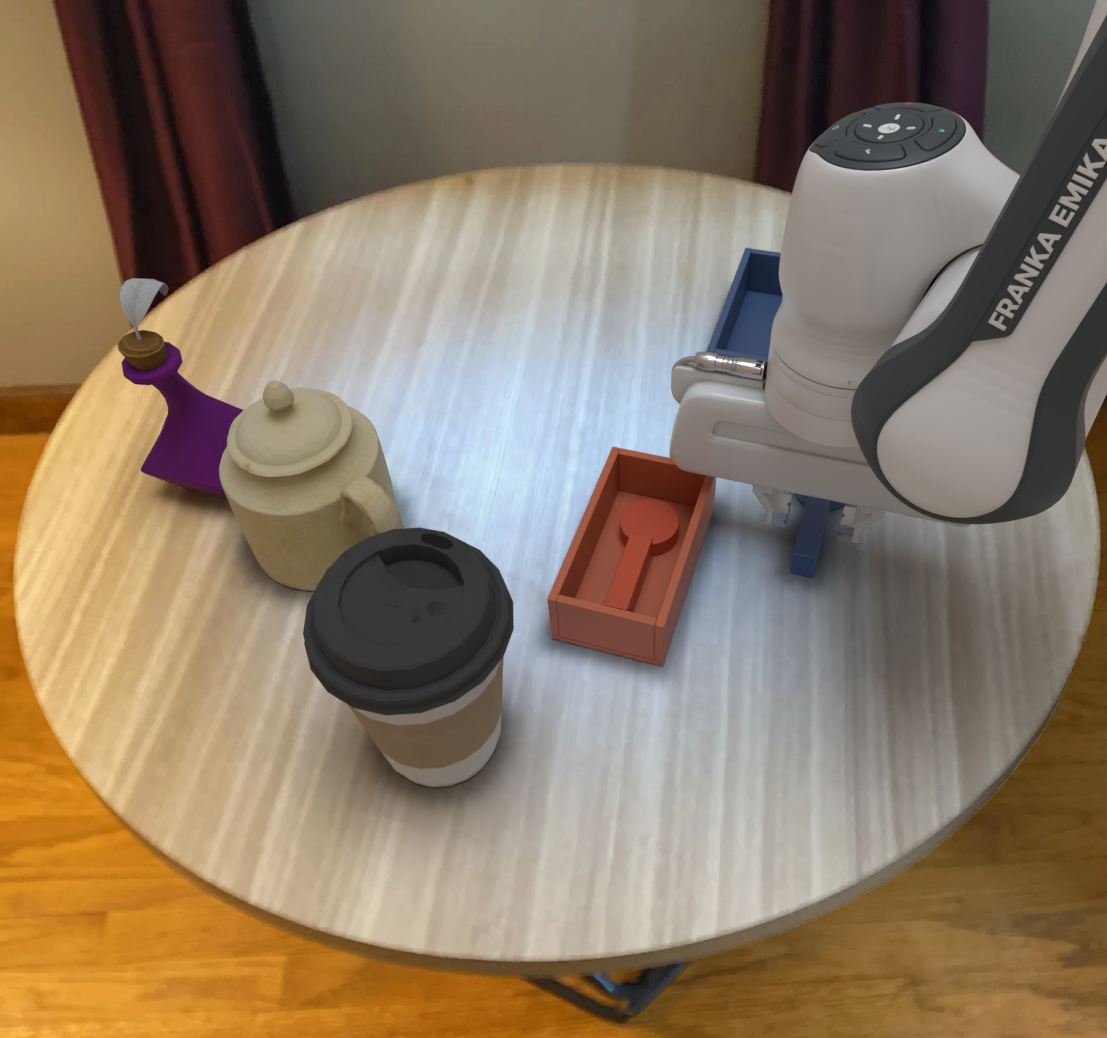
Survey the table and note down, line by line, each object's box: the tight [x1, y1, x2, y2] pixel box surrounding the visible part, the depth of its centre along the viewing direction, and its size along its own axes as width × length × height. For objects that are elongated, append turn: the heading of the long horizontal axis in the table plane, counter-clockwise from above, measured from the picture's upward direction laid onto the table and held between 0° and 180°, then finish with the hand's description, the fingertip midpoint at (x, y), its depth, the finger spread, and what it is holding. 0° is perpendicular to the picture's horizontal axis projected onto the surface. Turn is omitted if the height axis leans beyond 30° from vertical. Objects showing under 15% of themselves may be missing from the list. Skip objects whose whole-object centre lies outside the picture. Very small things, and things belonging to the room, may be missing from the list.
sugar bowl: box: [219, 379, 404, 592], centre depth 70 cm, size 15×11×15 cm
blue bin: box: [705, 247, 782, 362], centre depth 85 cm, size 8×14×4 cm, turn 161°
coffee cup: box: [302, 526, 515, 788], centre depth 59 cm, size 11×11×15 cm
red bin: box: [546, 446, 717, 667], centre depth 71 cm, size 8×14×4 cm, turn 161°
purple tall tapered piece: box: [117, 277, 244, 499], centre depth 74 cm, size 8×8×18 cm
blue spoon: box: [789, 493, 846, 578], centre depth 74 cm, size 10×4×2 cm, turn 161°
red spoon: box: [604, 499, 679, 612], centre depth 71 cm, size 10×4×2 cm, turn 161°
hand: (812, 526), depth 72 cm, fingers open, 4 cm apart
